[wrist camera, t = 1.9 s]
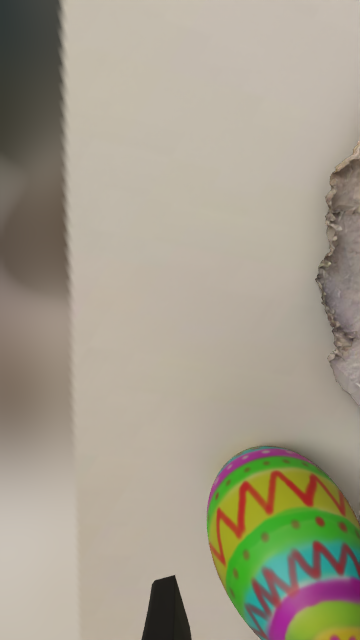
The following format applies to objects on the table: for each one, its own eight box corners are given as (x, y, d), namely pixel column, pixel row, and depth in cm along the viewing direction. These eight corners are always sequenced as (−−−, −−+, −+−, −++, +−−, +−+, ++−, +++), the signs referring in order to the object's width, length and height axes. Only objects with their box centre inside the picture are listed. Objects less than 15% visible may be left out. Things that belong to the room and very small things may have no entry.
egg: (326, 432, 13) (465, 576, 7) (302, 534, 14) (409, 734, 8) (207, 423, 13) (255, 572, 7) (191, 530, 14) (221, 741, 8)
